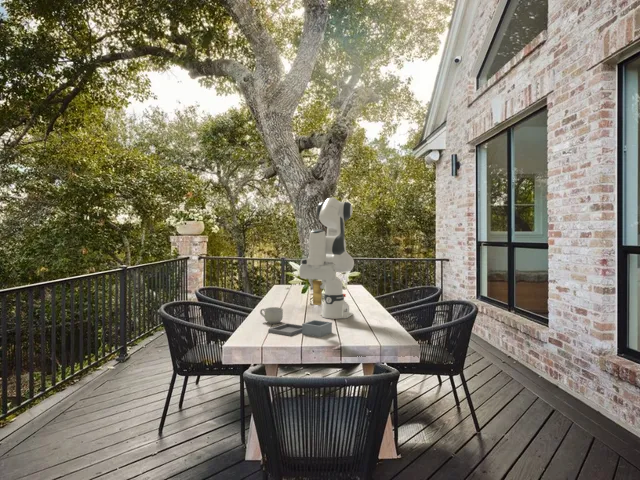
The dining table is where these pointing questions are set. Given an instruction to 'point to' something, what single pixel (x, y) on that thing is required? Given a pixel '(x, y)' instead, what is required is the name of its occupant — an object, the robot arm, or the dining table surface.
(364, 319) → the dining table surface
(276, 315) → the teacup
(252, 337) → the dining table surface
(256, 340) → the dining table surface
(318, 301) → the peg
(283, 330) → the tray
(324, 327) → the grey open box
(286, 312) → the dining table surface
